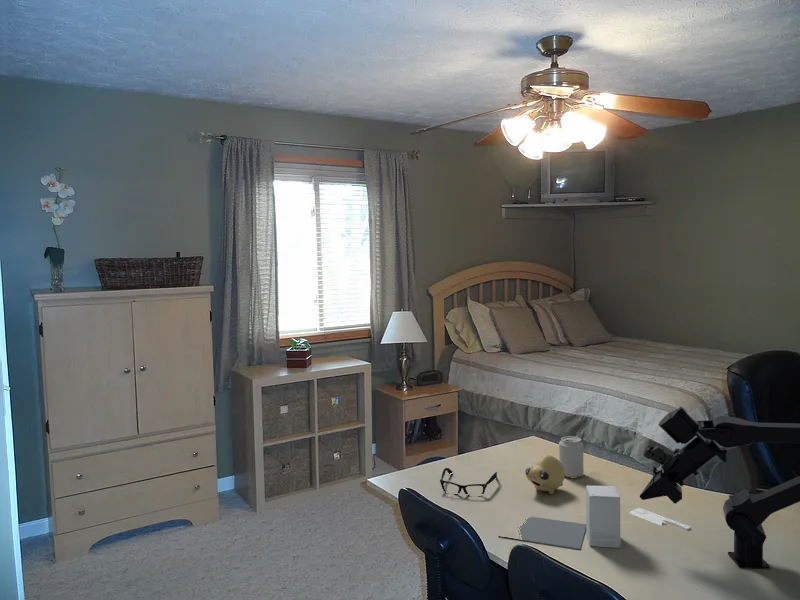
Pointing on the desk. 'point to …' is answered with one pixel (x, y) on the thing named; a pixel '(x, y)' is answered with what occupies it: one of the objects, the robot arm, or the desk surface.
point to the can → (571, 456)
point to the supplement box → (603, 516)
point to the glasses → (465, 485)
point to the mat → (553, 532)
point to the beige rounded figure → (546, 474)
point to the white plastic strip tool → (656, 518)
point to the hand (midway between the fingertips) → (640, 497)
